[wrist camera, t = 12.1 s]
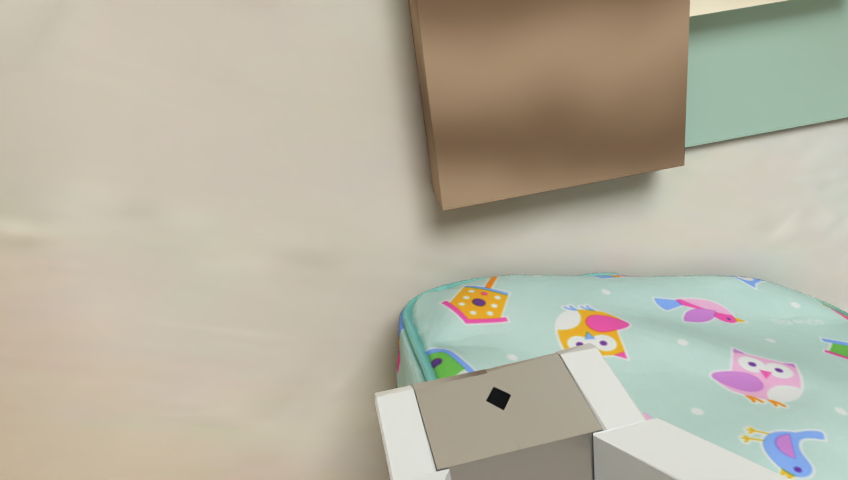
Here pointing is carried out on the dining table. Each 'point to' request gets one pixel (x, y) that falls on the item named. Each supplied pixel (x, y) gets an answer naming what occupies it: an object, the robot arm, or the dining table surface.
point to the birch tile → (723, 5)
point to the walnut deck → (549, 92)
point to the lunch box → (663, 353)
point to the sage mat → (766, 69)
